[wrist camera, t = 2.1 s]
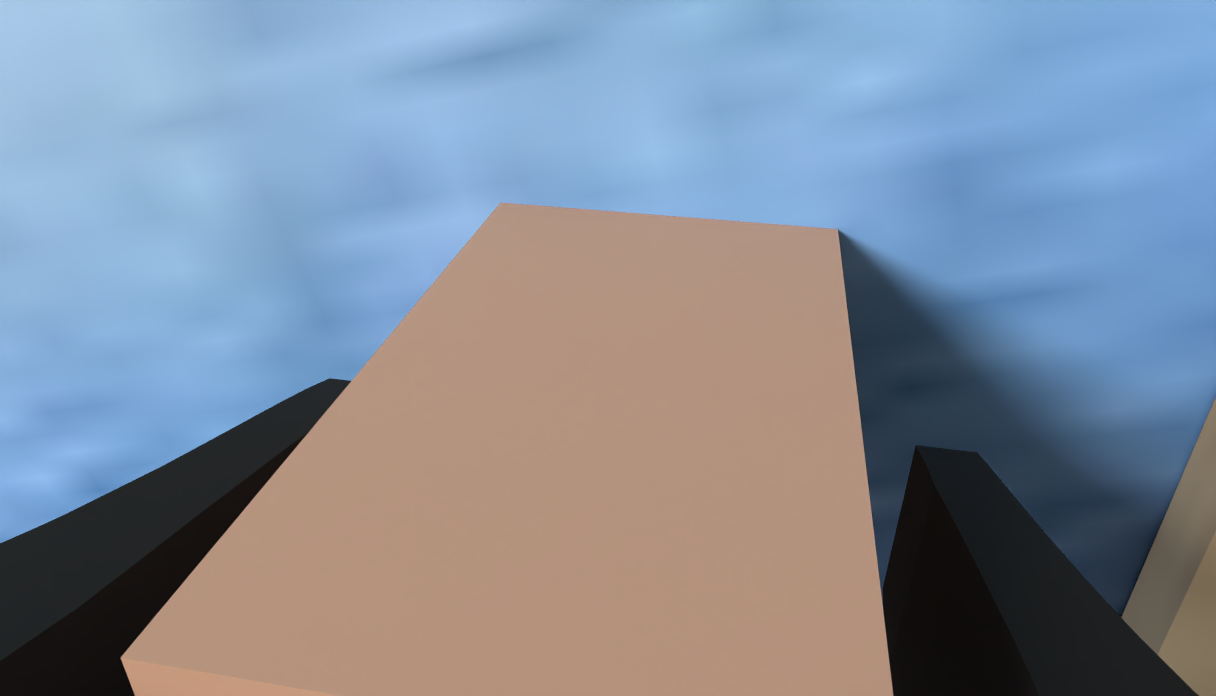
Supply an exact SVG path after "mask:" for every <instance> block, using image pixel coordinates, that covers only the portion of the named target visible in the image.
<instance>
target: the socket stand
mask: <svg viewBox="0 0 1216 696" xmlns="http://www.w3.org/2000/svg"><path fill="white" fill-rule="evenodd" d="M1121 618H1122V619H1123V620H1124V621H1125V622H1126V623H1127V624H1128V625H1129V626H1130V627H1131V628H1132V630H1133V631H1134V632H1135V633H1136V634H1137V635H1138V636H1139V637H1140V638H1141V639H1142V640H1143V641H1144V642H1145V643H1146V644H1147V645H1148V646H1149V647H1150V648H1151V649H1152V650H1153V651H1154V652H1155V653H1156V654H1157V655H1158V656H1159V657H1160V658H1161V659H1162V660H1163V661H1164V662H1165V663H1166V664H1167V665H1168V666H1169V667H1170V668H1171V669H1172V670H1173V671H1174V672H1175V673H1176V674H1177V675H1178V676H1179V677H1180V678H1181V679H1182V680H1183V681H1184V682H1185V683H1186V684H1187V685H1188V686H1189V687H1190V688H1191V689H1192V690H1193V691H1194V692H1196V693H1197V694H1198V695H1199V696H1216V398H1215V400H1214V402H1213V405H1212V407H1211V409H1210V412H1209V414H1208V416H1207V419H1206V421H1205V423H1204V426H1203V428H1202V430H1201V433H1200V435H1199V437H1198V440H1197V442H1196V444H1195V447H1194V449H1193V451H1192V454H1191V456H1190V458H1189V461H1188V463H1187V465H1186V468H1185V470H1184V472H1183V475H1182V477H1181V479H1180V482H1179V484H1178V486H1177V489H1176V491H1175V493H1174V496H1173V498H1172V500H1171V503H1170V505H1169V507H1168V510H1167V512H1166V514H1165V517H1164V519H1163V521H1162V524H1161V526H1160V529H1159V531H1158V533H1157V536H1156V538H1155V540H1154V543H1153V545H1152V547H1151V550H1150V552H1149V554H1148V557H1147V559H1146V561H1145V564H1144V566H1143V568H1142V571H1141V573H1140V575H1139V578H1138V580H1137V582H1136V585H1135V587H1134V589H1133V592H1132V594H1131V596H1130V599H1129V601H1128V603H1127V606H1126V608H1125V610H1124V613H1123V615H1122V617H1121Z"/></svg>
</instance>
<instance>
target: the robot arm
mask: <svg viewBox="0 0 1216 696" xmlns="http://www.w3.org/2000/svg"><path fill="white" fill-rule="evenodd" d="M350 382H351V381H347V380H338V379H327V380H325V381H323V382H321V383H318V384H316V385H314V386H312V387H310V388H308V389H305V390H303V391H301V392H299V393H298V394H296V395H294V396H292V397H290V398H288V399H286V400H284V401H282V402H280V403H278V404H276V405H275V406H273V407H271V408H269V409H267V410H265V411H264V412H262V413H260V414H258V415H256V416H254V417H252V418H251V419H249V420H247V421H245V422H243V423H242V424H240V425H238V426H236V427H234V428H232V429H231V430H229V431H227V432H225V433H223V434H221V435H219V436H218V437H216V438H214V439H212V440H210V441H208V442H206V443H205V444H203V445H201V446H199V447H197V448H195V449H193V450H192V451H190V452H188V453H186V454H184V455H182V456H180V457H179V458H177V459H175V460H173V461H171V462H169V463H167V464H166V465H164V466H162V467H160V468H158V469H156V470H154V471H152V472H150V473H148V474H146V475H144V476H142V477H140V478H138V479H136V480H134V481H132V482H130V483H128V484H126V485H124V486H122V487H120V488H118V489H116V490H114V491H112V492H110V493H108V494H105V495H103V496H101V497H99V498H97V499H95V500H93V501H91V502H89V503H87V504H85V505H83V506H81V507H79V508H77V509H75V510H73V511H71V512H69V513H67V514H65V515H63V516H61V517H59V518H56V519H54V520H52V521H50V522H48V523H46V524H43V525H41V526H39V527H37V528H35V529H32V530H30V531H28V532H25V533H23V534H21V535H19V536H16V537H14V538H12V539H10V540H7V541H5V542H2V543H0V696H135V694H134V692H133V689H132V686H131V684H130V681H129V679H128V676H127V673H126V671H125V668H124V666H123V663H122V660H121V657H122V655H123V654H124V653H125V652H126V651H127V649H128V648H129V647H130V646H131V645H132V643H133V642H134V641H135V640H136V639H137V637H138V636H139V635H140V634H141V633H142V631H143V630H144V629H145V628H146V627H147V625H148V624H149V623H150V622H151V621H152V619H153V618H154V617H155V616H156V615H157V613H158V612H159V611H160V610H161V609H162V607H163V606H164V605H165V604H166V603H167V601H168V600H169V599H170V598H171V597H172V595H173V594H174V593H175V592H176V591H177V589H178V588H179V587H180V586H181V585H182V583H183V582H184V581H185V580H186V579H187V577H188V576H189V575H190V574H191V573H192V572H193V570H194V569H195V568H196V567H197V566H198V564H199V563H200V562H201V561H202V560H203V558H204V557H205V556H206V555H207V554H208V552H209V551H210V550H211V549H212V548H213V546H214V545H215V544H216V543H217V542H218V540H219V539H220V538H221V537H222V536H223V534H224V533H225V532H226V531H227V530H228V528H229V527H230V526H231V525H232V524H233V522H234V521H235V520H236V519H237V518H238V516H239V515H240V514H241V513H242V512H243V510H244V509H245V508H246V507H247V506H248V504H249V503H250V502H251V501H252V500H253V498H254V497H255V496H256V495H257V494H258V492H259V491H260V490H261V489H262V488H263V486H264V485H265V484H266V483H267V482H268V481H269V479H270V478H271V477H272V476H273V475H274V473H275V472H276V471H277V470H278V469H279V467H280V466H281V465H282V464H283V463H284V461H285V460H286V459H287V458H288V457H289V455H290V454H291V453H292V452H293V451H294V449H295V448H296V447H297V446H298V445H299V443H300V442H301V441H302V440H303V439H304V437H305V436H306V435H307V434H308V433H309V431H310V430H311V429H312V428H313V427H314V425H315V424H316V423H317V422H318V421H319V419H320V418H321V417H322V416H323V415H324V413H325V412H326V411H327V410H328V409H329V407H330V406H331V405H332V404H333V403H334V401H335V400H336V399H337V398H338V397H339V395H340V394H341V393H342V392H343V391H344V390H345V388H346V387H347V386H348V385H349V384H350ZM883 611H884V621H885V630H886V638H887V647H888V655H889V663H890V672H891V680H892V689H893V696H1199V695H1198V694H1197V693H1196V692H1194V691H1193V690H1192V689H1191V688H1190V687H1189V686H1188V685H1187V684H1186V683H1185V682H1184V681H1183V680H1182V679H1181V678H1180V677H1179V676H1178V675H1177V674H1176V673H1175V672H1174V671H1173V670H1172V669H1171V668H1170V667H1169V666H1168V665H1167V664H1166V663H1165V662H1164V661H1163V660H1162V659H1161V658H1160V657H1159V656H1158V655H1157V654H1156V653H1155V652H1154V651H1153V650H1152V649H1151V648H1150V647H1149V646H1148V645H1147V644H1146V643H1145V642H1144V641H1143V640H1142V639H1141V638H1140V637H1139V636H1138V635H1137V634H1136V633H1135V632H1134V631H1133V630H1132V628H1131V627H1130V626H1129V625H1128V624H1127V623H1126V622H1125V621H1124V620H1123V619H1122V618H1121V617H1120V616H1119V615H1118V614H1117V613H1116V612H1115V611H1114V610H1113V608H1112V607H1111V606H1110V605H1109V604H1108V603H1107V602H1106V601H1105V600H1104V599H1103V598H1102V597H1101V596H1100V594H1099V593H1098V592H1097V591H1096V590H1095V589H1094V588H1093V587H1092V586H1091V585H1090V584H1089V582H1088V581H1087V580H1086V579H1085V578H1084V577H1083V576H1082V575H1081V574H1080V572H1079V571H1078V570H1077V569H1076V568H1075V567H1074V566H1073V565H1072V563H1071V562H1070V561H1069V560H1068V559H1067V558H1066V557H1065V556H1064V554H1063V553H1062V552H1061V551H1060V550H1059V549H1058V548H1057V546H1056V545H1055V544H1054V543H1053V542H1052V541H1051V539H1050V538H1049V537H1048V536H1047V535H1046V534H1045V532H1044V531H1043V530H1042V529H1041V528H1040V527H1039V525H1038V524H1037V523H1036V522H1035V521H1034V519H1033V518H1032V517H1031V516H1030V515H1029V514H1028V512H1027V511H1026V510H1025V509H1024V508H1023V506H1022V505H1021V504H1020V503H1019V502H1018V500H1017V499H1016V498H1015V497H1014V496H1013V494H1012V493H1011V492H1010V491H1009V490H1008V488H1007V487H1006V486H1005V485H1004V484H1003V482H1002V481H1001V480H1000V479H999V478H998V476H997V475H996V474H995V473H994V472H993V470H992V469H991V468H990V467H989V466H988V465H987V463H986V462H985V461H984V460H983V459H982V458H981V456H980V455H979V454H978V453H977V452H969V451H960V450H951V449H942V448H934V447H925V446H916V447H915V452H914V456H913V460H912V465H911V469H910V473H909V478H908V482H907V486H906V490H905V495H904V499H903V503H902V508H901V512H900V516H899V521H898V525H897V529H896V534H895V538H894V542H893V546H892V551H891V555H890V559H889V564H888V568H887V572H886V577H885V581H884V585H883Z"/></svg>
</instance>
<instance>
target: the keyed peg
mask: <svg viewBox="0 0 1216 696" xmlns="http://www.w3.org/2000/svg"><path fill="white" fill-rule="evenodd" d="M121 660H122V663H123V666H124V668H125V671H126V673H127V676H128V679H129V681H130V684H131V686H132V689H133V692H134V694H135V696H893V689H892V680H891V672H890V663H889V655H888V647H887V638H886V630H885V621H884V613H883V605H882V596H881V588H880V579H879V571H878V563H877V554H876V546H875V537H874V529H873V520H872V512H871V504H870V495H869V487H868V478H867V470H866V462H865V453H864V445H863V436H862V428H861V420H860V411H859V403H858V394H857V386H856V378H855V369H854V361H853V352H852V344H851V336H850V327H849V319H848V310H847V302H846V293H845V285H844V277H843V268H842V260H841V251H840V243H839V235H838V229H828V228H816V227H803V226H790V225H778V224H765V223H752V222H740V221H727V220H714V219H702V218H689V217H676V216H664V215H651V214H638V213H626V212H613V211H600V210H588V209H575V208H562V207H550V206H537V205H524V204H512V203H500V204H499V205H498V206H497V207H496V209H495V210H494V211H493V212H492V213H491V215H490V216H489V217H488V218H487V219H486V221H485V222H484V223H483V224H482V225H481V227H480V228H479V229H478V230H477V231H476V233H475V234H474V235H473V236H472V237H471V239H470V240H469V241H468V242H467V243H466V245H465V246H464V247H463V248H462V249H461V251H460V252H459V253H458V254H457V255H456V257H455V258H454V259H453V260H452V261H451V263H450V264H449V265H448V266H447V267H446V269H445V270H444V271H443V272H442V273H441V275H440V276H439V277H438V278H437V279H436V281H435V282H434V283H433V284H432V285H431V287H430V288H429V289H428V290H427V291H426V293H425V294H424V295H423V296H422V297H421V298H420V300H419V301H418V302H417V303H416V304H415V306H414V307H413V308H412V309H411V310H410V312H409V313H408V314H407V315H406V316H405V318H404V319H403V320H402V321H401V322H400V324H399V325H398V326H397V327H396V328H395V330H394V331H393V332H392V333H391V334H390V336H389V337H388V338H387V339H386V340H385V342H384V343H383V344H382V345H381V346H380V348H379V349H378V350H377V351H376V352H375V354H374V355H373V356H372V357H371V358H370V360H369V361H368V362H367V363H366V364H365V366H364V367H363V368H362V369H361V370H360V372H359V373H358V374H357V375H356V376H355V378H354V379H353V380H352V381H351V382H350V384H349V385H348V386H347V387H346V388H345V390H344V391H343V392H342V393H341V394H340V395H339V397H338V398H337V399H336V400H335V401H334V403H333V404H332V405H331V406H330V407H329V409H328V410H327V411H326V412H325V413H324V415H323V416H322V417H321V418H320V419H319V421H318V422H317V423H316V424H315V425H314V427H313V428H312V429H311V430H310V431H309V433H308V434H307V435H306V436H305V437H304V439H303V440H302V441H301V442H300V443H299V445H298V446H297V447H296V448H295V449H294V451H293V452H292V453H291V454H290V455H289V457H288V458H287V459H286V460H285V461H284V463H283V464H282V465H281V466H280V467H279V469H278V470H277V471H276V472H275V473H274V475H273V476H272V477H271V478H270V479H269V481H268V482H267V483H266V484H265V485H264V486H263V488H262V489H261V490H260V491H259V492H258V494H257V495H256V496H255V497H254V498H253V500H252V501H251V502H250V503H249V504H248V506H247V507H246V508H245V509H244V510H243V512H242V513H241V514H240V515H239V516H238V518H237V519H236V520H235V521H234V522H233V524H232V525H231V526H230V527H229V528H228V530H227V531H226V532H225V533H224V534H223V536H222V537H221V538H220V539H219V540H218V542H217V543H216V544H215V545H214V546H213V548H212V549H211V550H210V551H209V552H208V554H207V555H206V556H205V557H204V558H203V560H202V561H201V562H200V563H199V564H198V566H197V567H196V568H195V569H194V570H193V572H192V573H191V574H190V575H189V576H188V577H187V579H186V580H185V581H184V582H183V583H182V585H181V586H180V587H179V588H178V589H177V591H176V592H175V593H174V594H173V595H172V597H171V598H170V599H169V600H168V601H167V603H166V604H165V605H164V606H163V607H162V609H161V610H160V611H159V612H158V613H157V615H156V616H155V617H154V618H153V619H152V621H151V622H150V623H149V624H148V625H147V627H146V628H145V629H144V630H143V631H142V633H141V634H140V635H139V636H138V637H137V639H136V640H135V641H134V642H133V643H132V645H131V646H130V647H129V648H128V649H127V651H126V652H125V653H124V654H123V655H122V657H121Z"/></svg>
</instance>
